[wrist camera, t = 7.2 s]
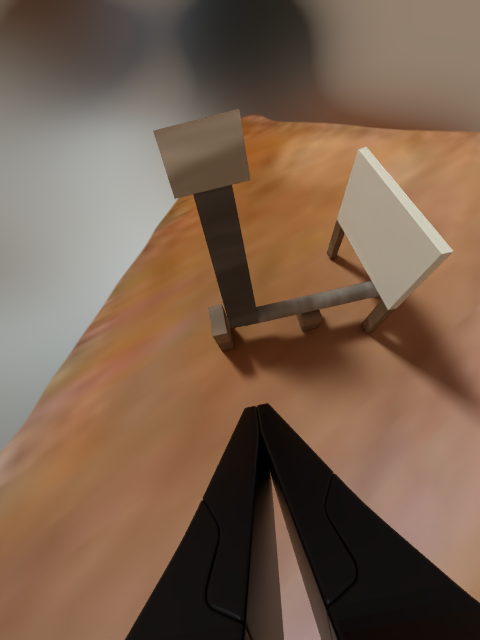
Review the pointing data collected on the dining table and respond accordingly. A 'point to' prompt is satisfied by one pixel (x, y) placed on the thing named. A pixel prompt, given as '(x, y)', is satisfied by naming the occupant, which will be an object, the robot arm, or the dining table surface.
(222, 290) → the block-topped post frame
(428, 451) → the dining table surface
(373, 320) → the peg stand
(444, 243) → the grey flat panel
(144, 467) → the dining table surface
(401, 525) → the dining table surface
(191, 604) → the robot arm
